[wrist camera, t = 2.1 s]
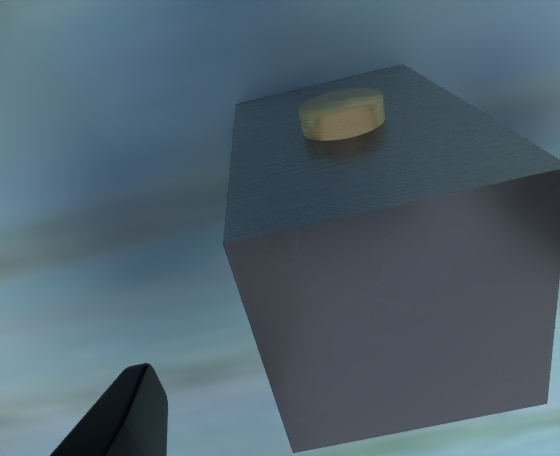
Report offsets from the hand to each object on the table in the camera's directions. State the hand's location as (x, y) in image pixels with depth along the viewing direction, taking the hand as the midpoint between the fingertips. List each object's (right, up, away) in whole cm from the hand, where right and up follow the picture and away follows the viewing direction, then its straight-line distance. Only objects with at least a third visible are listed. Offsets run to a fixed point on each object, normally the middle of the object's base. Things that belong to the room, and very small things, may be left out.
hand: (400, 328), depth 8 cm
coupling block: (0, +4, +7) cm, 8 cm away
